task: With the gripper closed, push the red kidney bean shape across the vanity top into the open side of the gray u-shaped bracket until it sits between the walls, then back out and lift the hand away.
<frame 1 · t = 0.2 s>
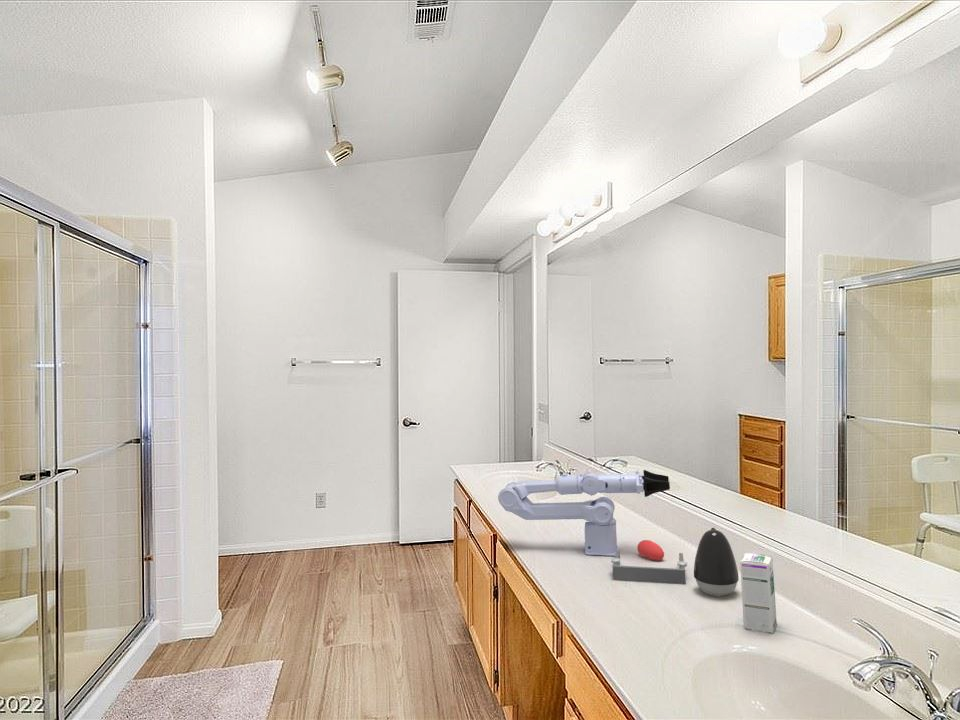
hand: (669, 482, 176), 21 cm above the counter, fingers open, 7 cm apart
syrup box: (759, 627, 128), on the counter
black egg-shaped device: (716, 592, 147), on the counter
gray u-shaped bracket: (649, 572, 162), on the counter
red kidney bean shape: (649, 558, 175), on the counter
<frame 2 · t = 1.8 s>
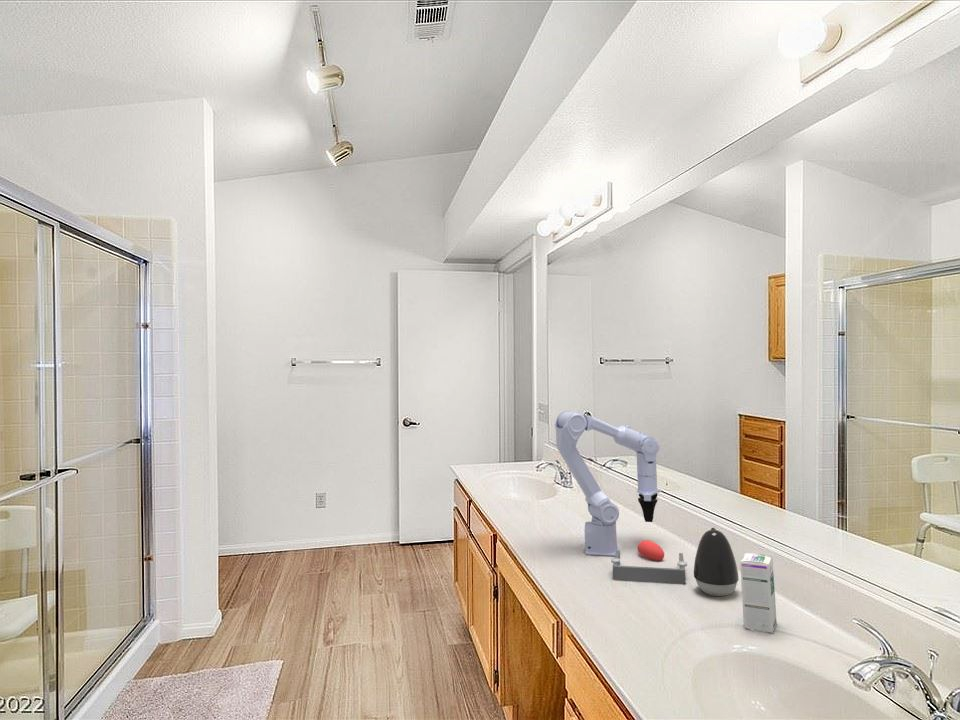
hand: (648, 519, 184), 8 cm above the counter, fingers open, 5 cm apart
nothing on the counter moved.
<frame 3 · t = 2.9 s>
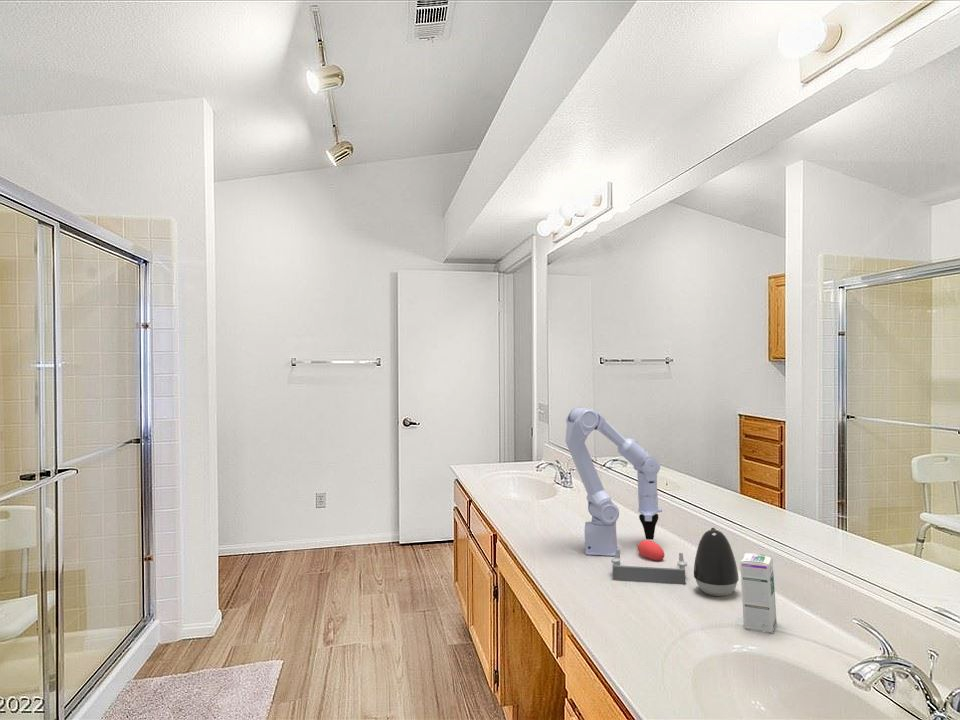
hand: (649, 538, 184), 2 cm above the counter, fingers closed
nothing on the counter moved.
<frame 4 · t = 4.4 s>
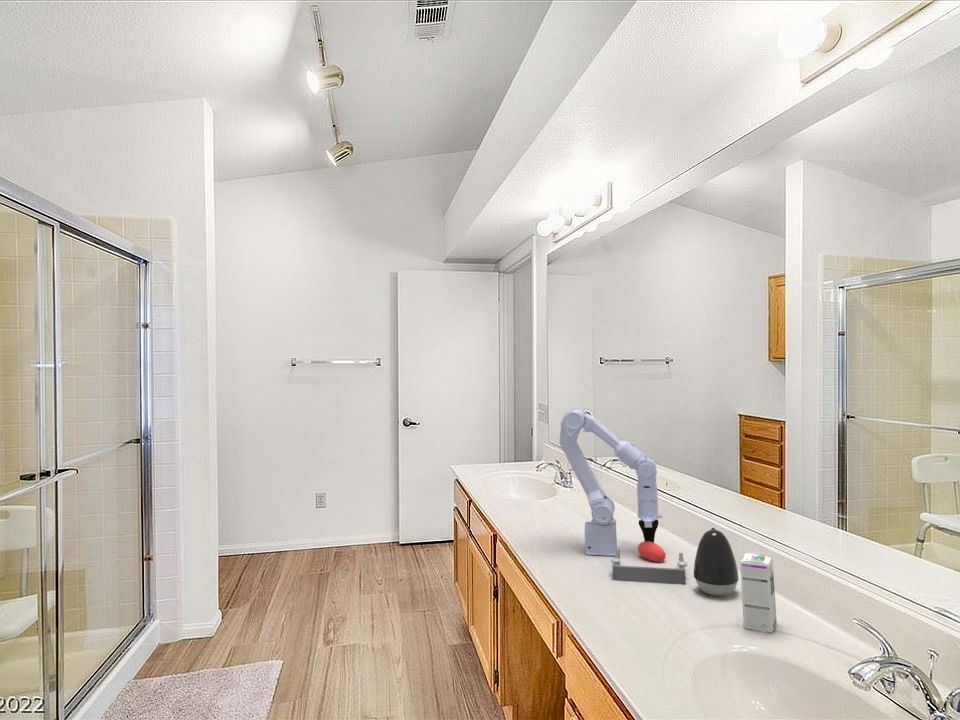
hand: (649, 545, 178), 2 cm above the counter, fingers closed
red kidney bean shape: (650, 559, 173), on the counter, touching gripper
everything else where it was.
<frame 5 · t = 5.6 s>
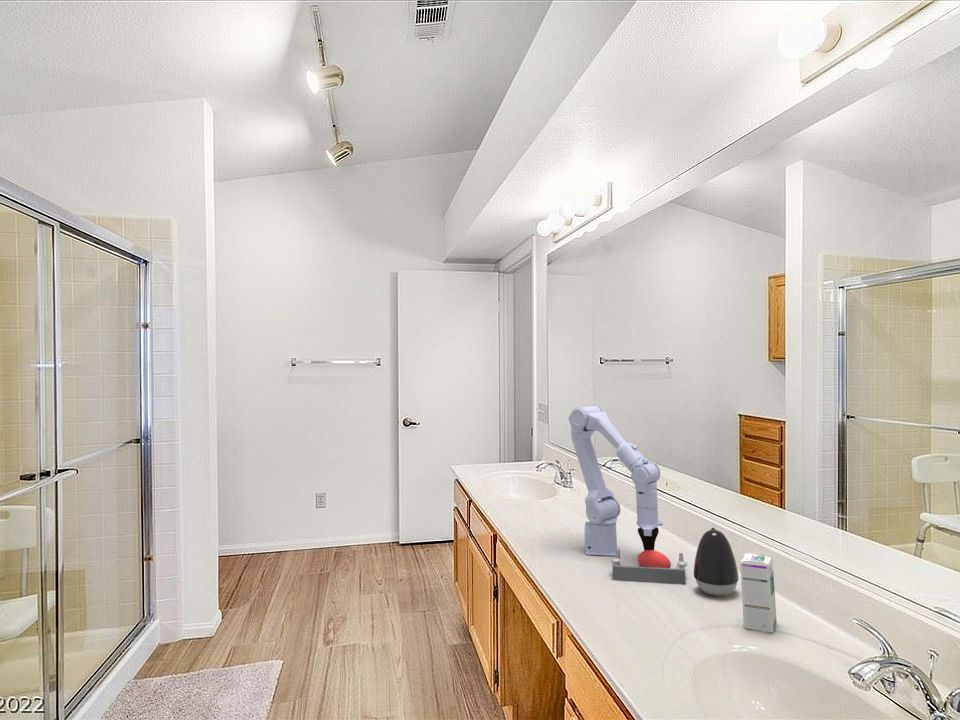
hand: (649, 554, 170), 2 cm above the counter, fingers closed
red kidney bean shape: (653, 569, 165), on the counter, touching gripper
everything else where it was.
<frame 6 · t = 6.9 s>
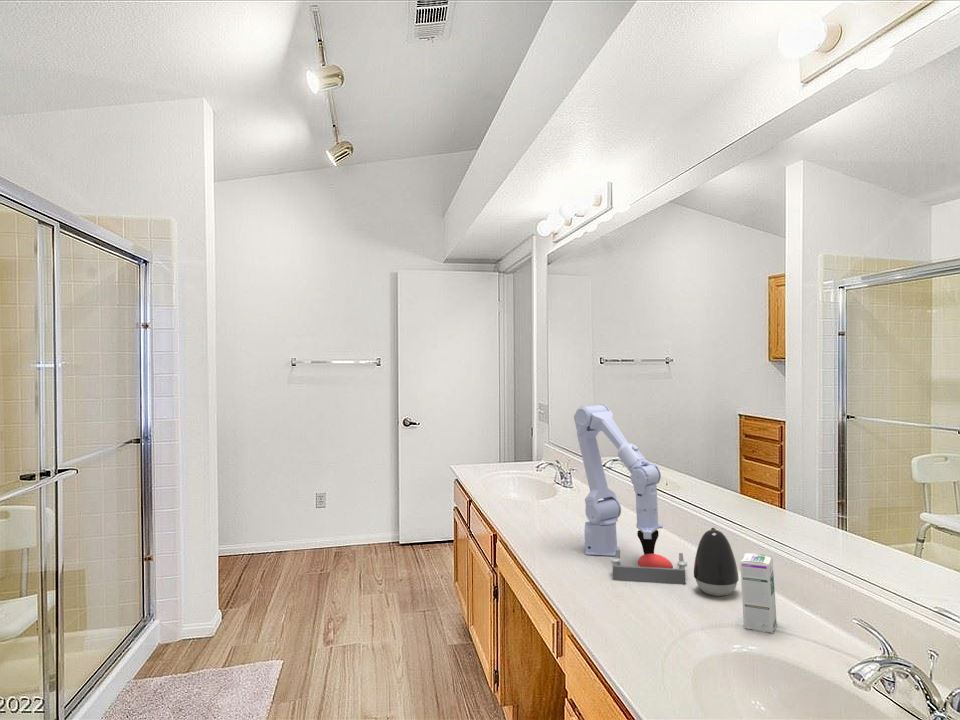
hand: (649, 557, 167), 2 cm above the counter, fingers closed
red kidney bean shape: (654, 573, 163), on the counter
everything else where it was.
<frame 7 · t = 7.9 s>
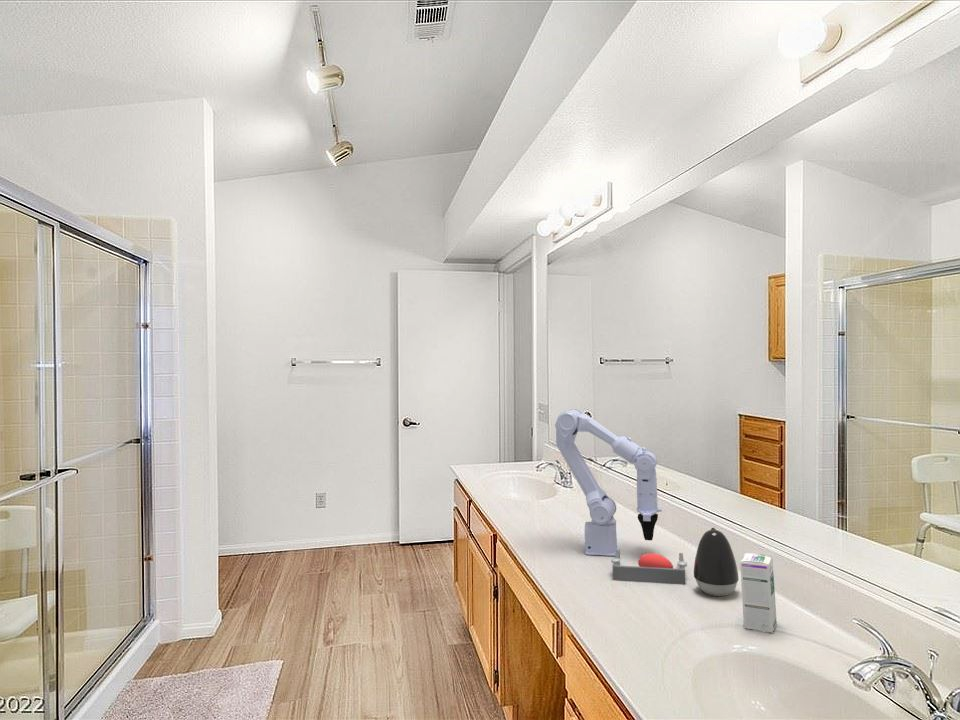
hand: (648, 539, 176), 5 cm above the counter, fingers closed
nothing on the counter moved.
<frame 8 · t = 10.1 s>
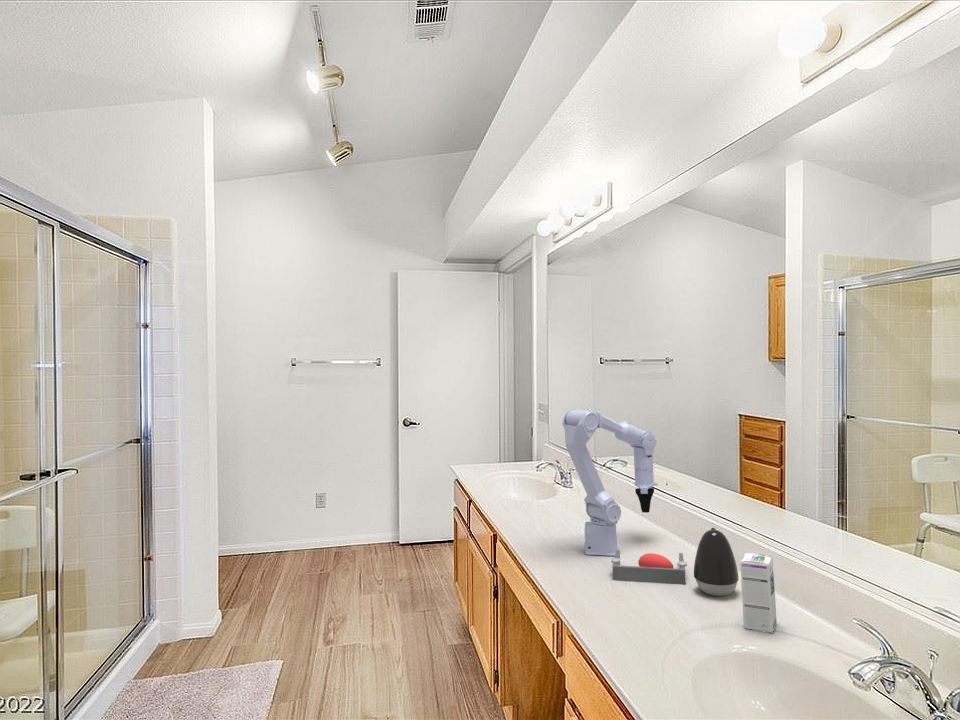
hand: (645, 512, 189), 9 cm above the counter, fingers closed
nothing on the counter moved.
at the end: red kidney bean shape inside the target area on the gray u-shaped bracket (3.1 cm from its centre), point 0.0 cm above the gray u-shaped bracket's base; the gripper is holding nothing; red kidney bean shape moved 11.9 cm from its start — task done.
